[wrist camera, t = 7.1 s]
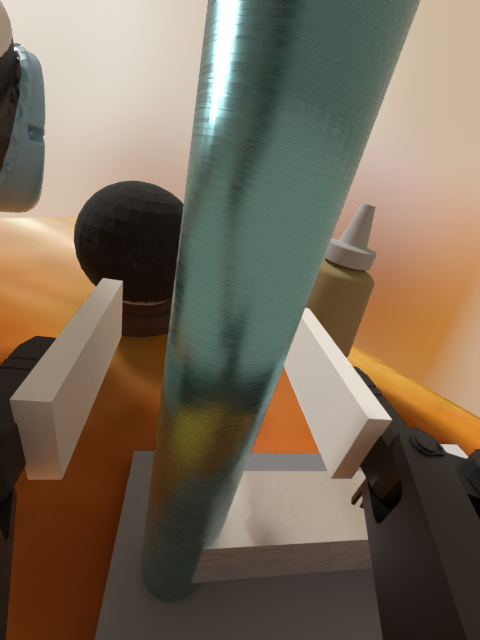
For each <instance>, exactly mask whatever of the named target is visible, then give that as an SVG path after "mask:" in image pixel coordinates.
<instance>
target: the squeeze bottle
mask: <svg viewBox="0 0 480 640" xmlns="http://www.w3.org/2000/svg"><path fill="white" fill-rule="evenodd" d="M374 211H375V207H374V206H370V205H366V204H362V205H361V206H360V208H359V209H358V211H357V213H356V214H355V216H354V217H353V219H352V220H351V222H350V224H349V225H348V227H347V228H346V230H345V231H344V233H343V235H342V236H341V238H340V239H331V240H330V243H329V246H328V248H327V251H326V254H325V256H324V257H325V258H324V259H323V262H322V264H321V267H320V270H319V272H318V275H317V278H316V280H315V283H314V286H313V288H312V291H311V294H310V296H309V299H308V302H307V304H306V307H305V308H309V309H310V310H311V312H312V313H313V314H314V316H315V317H316V318H317V320H318V321H319V322H320V324H321V325H322V326H323V328H324V329H325V330H326V332H327V333H328V334H329V336H330V337H331V338H332V340H333V341H334V342H335V344H336V345H337V346H338V348H339V349H340V350H341V352H342V353H343V354H344V356H345V357H346V358H347V357H348V355H349V353H350V350H351V347H352V344H353V341H354V339H355V336H356V333H357V330H358V328H359V325H360V322H361V319H362V316H363V314H364V311H365V308H366V305H367V303H368V300H369V297H370V294H371V292H372V289H373V286H374V281H373V279H372V277H371V275H370V274H368V273H367V272H366V270H369V269H370V268H371V266H372V263H373V261H374V259H375V257H376V252H374V251H372V250H371V249H368V248H367V245H368V240H369V235H370V231H371V225H372V221H373V216H374Z"/></svg>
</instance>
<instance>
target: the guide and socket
mask: <svg viewBox="0 0 480 640" xmlns="http://www.w3.org/2000/svg"><path fill="white" fill-rule="evenodd" d="M440 445H441V446H442V447H443V448H444V450H445V451H446V452H447V453H450V454H453V455H456V456H459V457H463V458H466V459H467V458H468V456H467V455H466V454H465V453H464V452H463V451H462V450H461V448H460V447H459V446H458V445H451V444H440ZM153 457H154V451H134V454H133V459H132V464H131V468H130V473H129V478H128V483H127V487H126V492H125V497H124V502H123V506H122V511H121V516H120V521H119V525H118V530H117V535H116V539H115V544H114V549H113V554H112V558H111V563H110V568H109V573H108V577H107V582H106V587H105V592H104V596H103V601H102V606H101V611H100V615H99V620H98V625H97V630H96V634H95V639H94V640H383V638H382V631H381V624H380V617H379V610H378V603H377V596H376V589H375V582H374V576H373V569H372V568H364V569H352V570H341V571H329V572H318V573H306V574H295V575H283V576H272V577H260V578H249V579H237V580H226V581H214V582H202V583H201V584H200V585H199V587H198V588H197V589H196V590H195V591H194V592H193V593H192V594H191V595H190V596H188V597H187V598H185V599H183V600H180V601H176V602H166V601H162V600H159V599H158V598H156V597H154V596H153V595H152V594H151V593H150V592H149V591H148V589H147V587H146V586H145V584H144V581H143V578H142V573H141V557H142V549H143V541H144V532H145V524H146V516H147V507H148V499H149V491H150V482H151V474H152V465H153ZM244 471H327V469H326V466H325V464H324V462H323V459H322V457H321V454H290V453H251V454H250V457H249V459H248V462H247V465H246V467H245V470H244ZM358 471H362V469H361V468H359V469H358Z"/></svg>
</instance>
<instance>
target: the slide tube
mask: <svg viewBox="0 0 480 640" xmlns="http://www.w3.org/2000/svg"><path fill="white" fill-rule="evenodd" d="M419 3H420V0H208V6H207V14H206V23H205V31H204V40H203V48H202V56H201V65H200V73H199V82H198V89H197V98H196V106H195V114H194V123H193V131H192V140H191V148H190V156H189V165H188V173H187V181H186V191H185V198H184V206H183V215H182V223H181V231H180V240H179V248H178V257H177V265H176V273H175V282H174V290H173V298H172V307H171V315H170V323H169V332H168V340H167V348H166V357H165V365H164V374H163V382H162V390H161V399H160V407H159V415H158V424H157V432H156V440H155V449H154V457H153V465H152V474H151V482H150V491H149V499H148V507H147V516H146V524H145V532H144V541H143V549H142V557H141V573H142V578H143V581H144V584H145V586H146V587H147V589H148V591H149V592H150V593H151V594H152V595H153V596H154V597H156V598H158V599H159V600H162V601H166V602H176V601H180V600H183V599H185V598H187V597H188V596H190V595H191V594H192V593H193V592H194V591H195V590H196V589H197V588H198V587H199V585H200V584H201V583H202V582H214V581H226V580H237V579H249V578H260V577H272V576H283V575H295V574H306V573H318V572H329V571H341V570H352V569H364V568H372V562H371V555H370V548H369V541H368V534H367V527H366V521H365V514H364V509H362V508H360V504H361V502H362V501H363V500H362V496H361V497H360V499H359V500H358V501H357V503H356V504H355V505H352V504H351V499H352V496H353V495H354V494H355V492H356V491H357V489H358V488H359V487H360V485H361V484H362V483H363V481H364V480H365V478H366V477H365V475H364V473H363V471H357V472H356V474H355V475H354V476H353V478H352V479H331V478H330V476H329V474H328V471H244V470H245V467H246V465H247V462H248V459H249V457H250V454H251V451H252V449H253V446H254V443H255V440H256V438H257V435H258V432H259V430H260V427H261V424H262V422H263V419H264V416H265V414H266V411H267V408H268V406H269V403H270V400H271V398H272V395H273V392H274V390H275V387H276V384H277V382H278V379H279V376H280V374H281V371H282V368H283V366H284V363H285V360H286V358H287V355H288V352H289V350H290V347H291V344H292V342H293V339H294V336H295V334H296V331H297V328H298V326H299V323H300V320H301V318H302V315H303V312H304V310H305V307H306V304H307V302H308V299H309V296H310V294H311V291H312V288H313V286H314V283H315V280H316V278H317V275H318V272H319V270H320V267H321V264H322V262H323V259H324V256H325V254H326V251H327V248H328V246H329V243H330V240H331V238H332V235H333V232H334V230H335V227H336V224H337V221H338V219H339V216H340V214H341V211H342V208H343V206H344V203H345V200H346V198H347V195H348V192H349V190H350V187H351V184H352V181H353V179H354V176H355V174H356V170H357V168H358V165H359V162H360V160H361V158H362V155H363V152H364V150H365V147H366V144H367V141H368V139H369V136H370V134H371V130H372V128H373V126H374V122H375V120H376V118H377V115H378V112H379V109H380V107H381V104H382V101H383V99H384V96H385V93H386V91H387V88H388V85H389V83H390V80H391V77H392V75H393V72H394V69H395V67H396V64H397V61H398V59H399V56H400V53H401V50H402V48H403V45H404V43H405V40H406V37H407V35H408V32H409V29H410V27H411V24H412V21H413V19H414V16H415V13H416V11H417V8H418V5H419Z"/></svg>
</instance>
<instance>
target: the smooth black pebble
mask: <svg viewBox="0 0 480 640" xmlns="http://www.w3.org/2000/svg"><path fill="white" fill-rule="evenodd" d="M183 206H184V204H183V203H182V202H181V201H180V200H179V199H178V198H177V197H175V196H174V195H173V194H171V193H170V192H168V191H167V190H165V189H163V188H161V187H159V186H157V185H154V184H150V183H146V182H140V181H124V182H118V183H115V184H112V185H108V186H106V187H104V188H103V189H101V190H99V191H98V192H96V193H95V194H94V195H93V196H92V197H91V198H90V199H89V200H88V201H87V202H86V203H85V205H84V206H83V208H82V210H81V211H80V213H79V215H78V218H77V221H76V224H75V230H74V244H75V249H76V255H77V258H78V261H79V263H80V265H81V268H82V270H83V271H84V272H85V274H86V275H87V277H88V278H89V279H90V281H91V282H92V283H93V284H94V285H95V286H97V285H98V284H99V282H100V281H101V280H102V279H103V278H106V279H113V280H119V281H123V296H122V334H121V335H123V336H131V337H149V336H157V335H161V334H165V333H168V332H169V323H170V315H171V307H172V298H173V290H174V282H175V273H176V265H177V257H178V248H179V240H180V231H181V223H182V215H183Z"/></svg>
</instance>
